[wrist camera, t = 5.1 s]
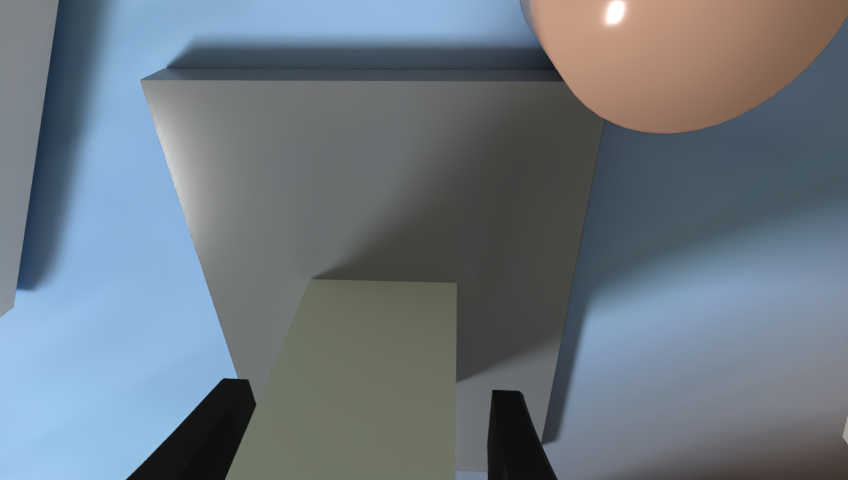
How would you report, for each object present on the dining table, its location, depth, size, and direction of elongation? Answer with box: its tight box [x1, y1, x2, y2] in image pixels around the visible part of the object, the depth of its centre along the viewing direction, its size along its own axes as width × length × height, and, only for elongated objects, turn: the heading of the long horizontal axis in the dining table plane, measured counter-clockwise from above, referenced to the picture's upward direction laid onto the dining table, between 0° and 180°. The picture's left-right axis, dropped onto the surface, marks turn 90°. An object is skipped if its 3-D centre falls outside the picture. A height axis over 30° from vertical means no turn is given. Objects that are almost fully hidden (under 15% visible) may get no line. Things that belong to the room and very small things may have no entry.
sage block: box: [225, 279, 457, 480], centre depth 12 cm, size 4×4×6 cm
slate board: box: [140, 69, 605, 472], centre depth 14 cm, size 14×10×1 cm
